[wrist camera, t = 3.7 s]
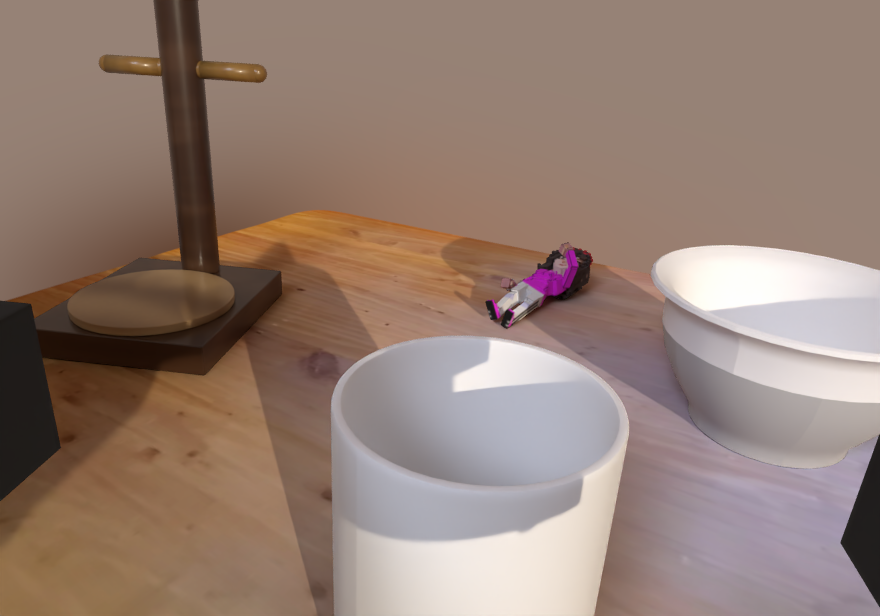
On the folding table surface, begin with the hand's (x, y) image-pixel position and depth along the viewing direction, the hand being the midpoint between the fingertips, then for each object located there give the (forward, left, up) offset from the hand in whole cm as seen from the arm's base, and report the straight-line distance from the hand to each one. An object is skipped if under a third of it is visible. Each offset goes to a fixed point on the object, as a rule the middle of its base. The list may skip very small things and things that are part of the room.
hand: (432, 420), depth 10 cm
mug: (+8, +6, -15) cm, 18 cm away
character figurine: (+36, +23, -15) cm, 45 cm away
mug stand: (+12, +38, -15) cm, 42 cm away
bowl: (+32, +3, -15) cm, 35 cm away
